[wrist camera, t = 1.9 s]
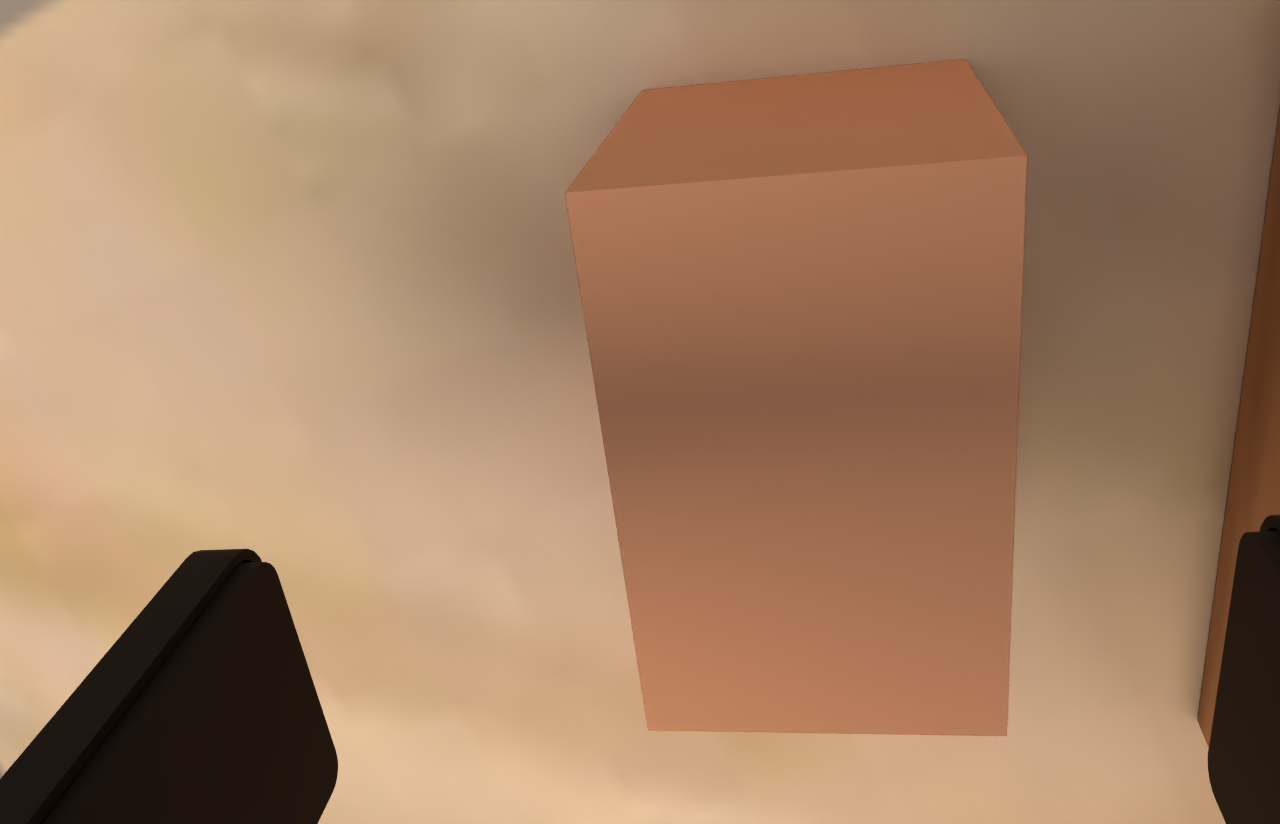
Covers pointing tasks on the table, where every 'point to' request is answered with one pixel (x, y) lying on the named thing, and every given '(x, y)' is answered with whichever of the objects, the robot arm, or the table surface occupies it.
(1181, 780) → the table surface
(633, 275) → the terracotta brick
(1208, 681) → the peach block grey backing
